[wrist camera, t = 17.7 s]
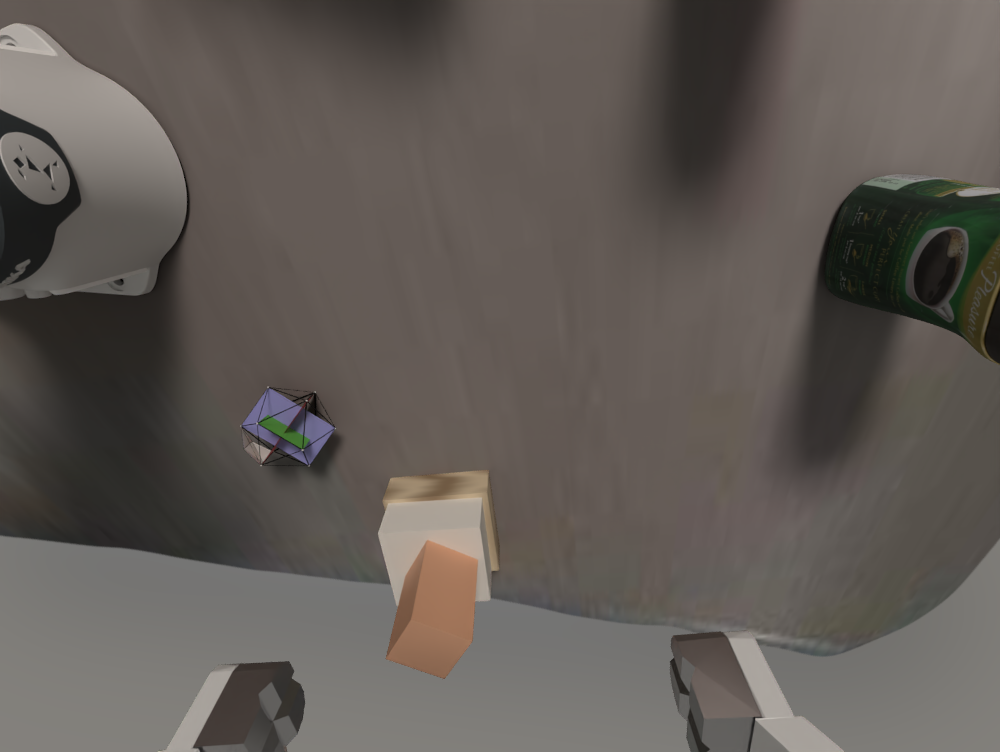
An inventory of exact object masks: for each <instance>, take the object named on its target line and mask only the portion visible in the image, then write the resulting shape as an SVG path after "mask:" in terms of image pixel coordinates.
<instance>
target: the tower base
mask: <svg viewBox="0 0 1000 752" xmlns="http://www.w3.org/2000/svg"><path fill="white" fill-rule="evenodd" d="M480 497H482V501H483V508H484V515H485V523H486V530H487V537H488V545H489V552H490V559H491V567H492V571H498V570H499V547H500V545H499V538H498V531H497V524H496V518H495V511H494V504H493V497H492V490H491V484H490V477H489V470H482V471H469V472H457V473H445V474H433V475H421V476H409V477H397V478H391V479H390V481H389V484H388V487H387V490H386V493H385V495H384V498H383V504H384V508H385V511H386V508H387V505H388V503H404V502H419V501H434V500H450V499H465V498H480Z"/></svg>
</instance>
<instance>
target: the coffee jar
mask: <svg viewBox="0 0 1000 752" xmlns="http://www.w3.org/2000/svg"><path fill="white" fill-rule="evenodd" d="M825 281H826V285H827V287H828V288H829V290H830V291H831V293H833V294H834V295H835V296H837V297H839V298H841V299H844V300H847V301H850V302H853V303H856V304H859V305H863V306H867V307H871V308H875V309H879V310H883V311H887V312H891V313H895V314H899V315H903V316H907V317H910V318H914V319H917V320H921V321H924V322H927V323H930V324H934V325H936V326H939V327H942V328H944V329H947V330H949V331H952V332H954V333H956V334H958V335H959V336H961V337H963V338H964V339H965V340H966V341H967V342H968V343H969V344H970V345H971V346H972V347H973V348H974V349H975V350H977V351H978V352H979V353H980V354H981V355H982V356H984V357H985V358H987V359H988V360H990V361H992V362H994V363H996V364H999V365H1000V189H997V188H992V187H987V186H981V185H976V184H971V183H967V182H962V181H957V180H951V179H946V178H940V177H933V176H924V175H908V174H899V175H888V176H883V177H878V178H874V179H871V180H868V181H866V182H864V183H863V184H861V185H860V186H858V187H857V188H856V189H854V190H853V191H852V192H851V193H850V194H849V196H848V197H847V198H846V200H845V201H844V203H843V205H842V207H841V209H840V212H839V214H838V217H837V220H836V222H835V226H834V228H833V232H832V235H831V239H830V243H829V248H828V253H827V258H826V265H825Z"/></svg>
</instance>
